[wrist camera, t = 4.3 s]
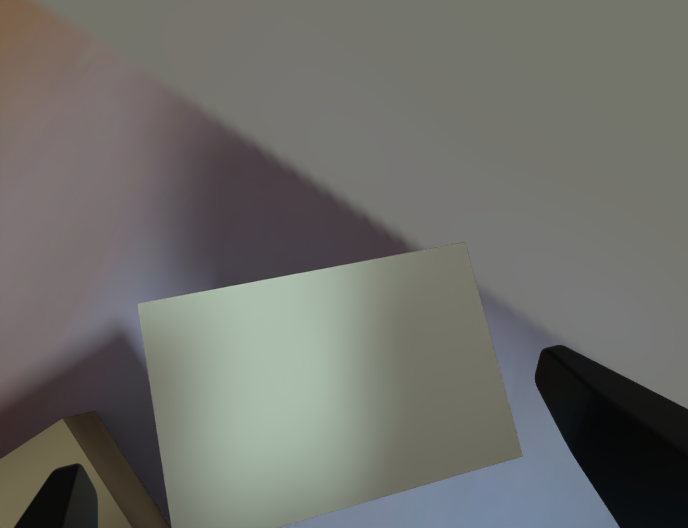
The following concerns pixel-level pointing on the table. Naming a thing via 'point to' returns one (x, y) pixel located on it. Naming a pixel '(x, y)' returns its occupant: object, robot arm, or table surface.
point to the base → (98, 461)
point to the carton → (323, 389)
